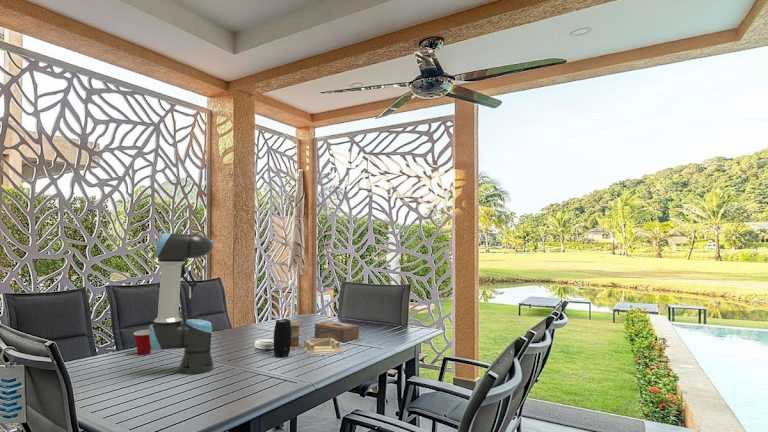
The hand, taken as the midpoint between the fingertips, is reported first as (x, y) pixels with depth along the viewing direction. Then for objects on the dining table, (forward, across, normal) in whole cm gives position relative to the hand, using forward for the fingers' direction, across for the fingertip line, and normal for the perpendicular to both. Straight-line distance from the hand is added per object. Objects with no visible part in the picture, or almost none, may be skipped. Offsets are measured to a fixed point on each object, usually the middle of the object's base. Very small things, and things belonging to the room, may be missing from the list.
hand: (177, 299), depth 240 cm
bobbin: (+31, -63, +23) cm, 73 cm away
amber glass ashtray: (+32, -75, +37) cm, 90 cm away
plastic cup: (+28, +16, +8) cm, 33 cm away
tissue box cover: (+32, -94, +11) cm, 100 cm away
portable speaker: (+31, -51, +39) cm, 71 cm away
